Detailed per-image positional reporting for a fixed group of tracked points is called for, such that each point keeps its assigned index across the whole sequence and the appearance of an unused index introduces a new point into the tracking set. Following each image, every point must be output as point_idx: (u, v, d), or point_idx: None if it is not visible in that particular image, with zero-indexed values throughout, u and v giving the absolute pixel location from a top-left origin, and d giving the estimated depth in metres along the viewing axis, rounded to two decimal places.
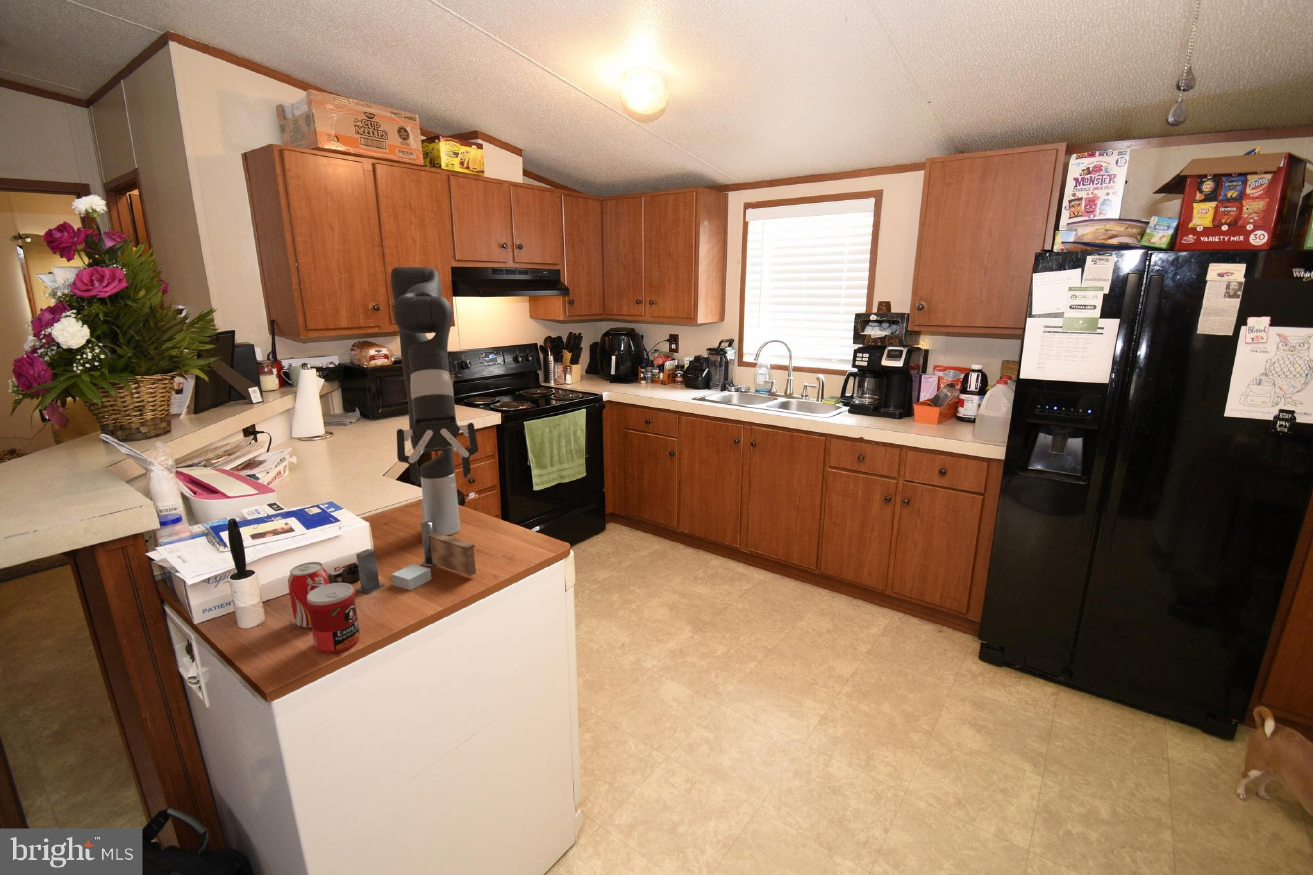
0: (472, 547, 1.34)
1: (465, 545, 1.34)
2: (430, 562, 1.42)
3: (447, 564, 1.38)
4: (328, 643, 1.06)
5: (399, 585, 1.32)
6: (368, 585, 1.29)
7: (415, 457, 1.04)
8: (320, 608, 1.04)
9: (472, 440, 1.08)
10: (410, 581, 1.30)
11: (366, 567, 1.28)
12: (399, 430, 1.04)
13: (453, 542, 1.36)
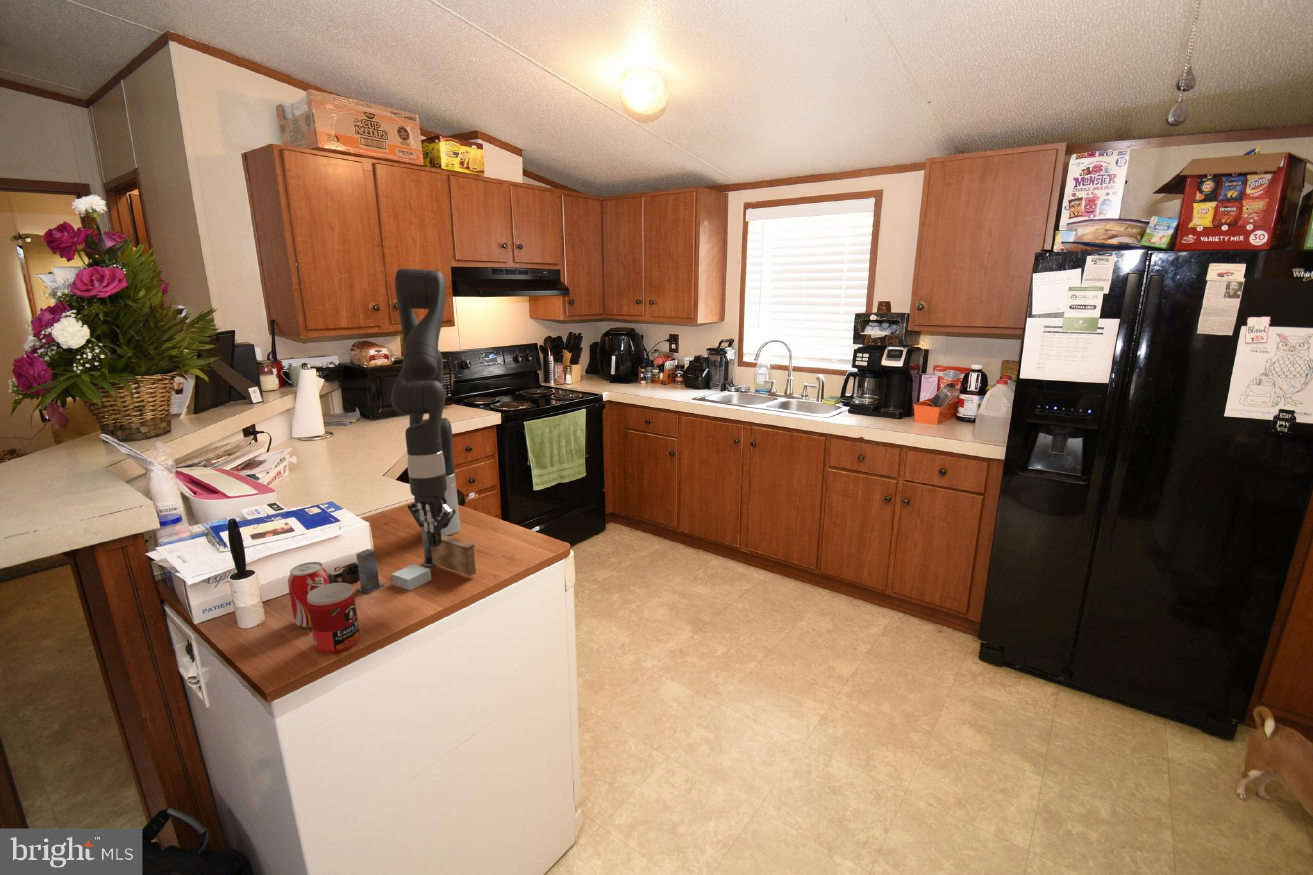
0: (472, 547, 1.34)
1: (465, 545, 1.34)
2: (430, 562, 1.42)
3: (447, 564, 1.38)
4: (328, 643, 1.06)
5: (399, 585, 1.32)
6: (368, 585, 1.29)
7: (426, 526, 1.26)
8: (320, 608, 1.04)
9: (439, 522, 1.23)
10: (409, 581, 1.30)
11: (366, 567, 1.28)
12: (408, 506, 1.27)
13: (453, 542, 1.36)
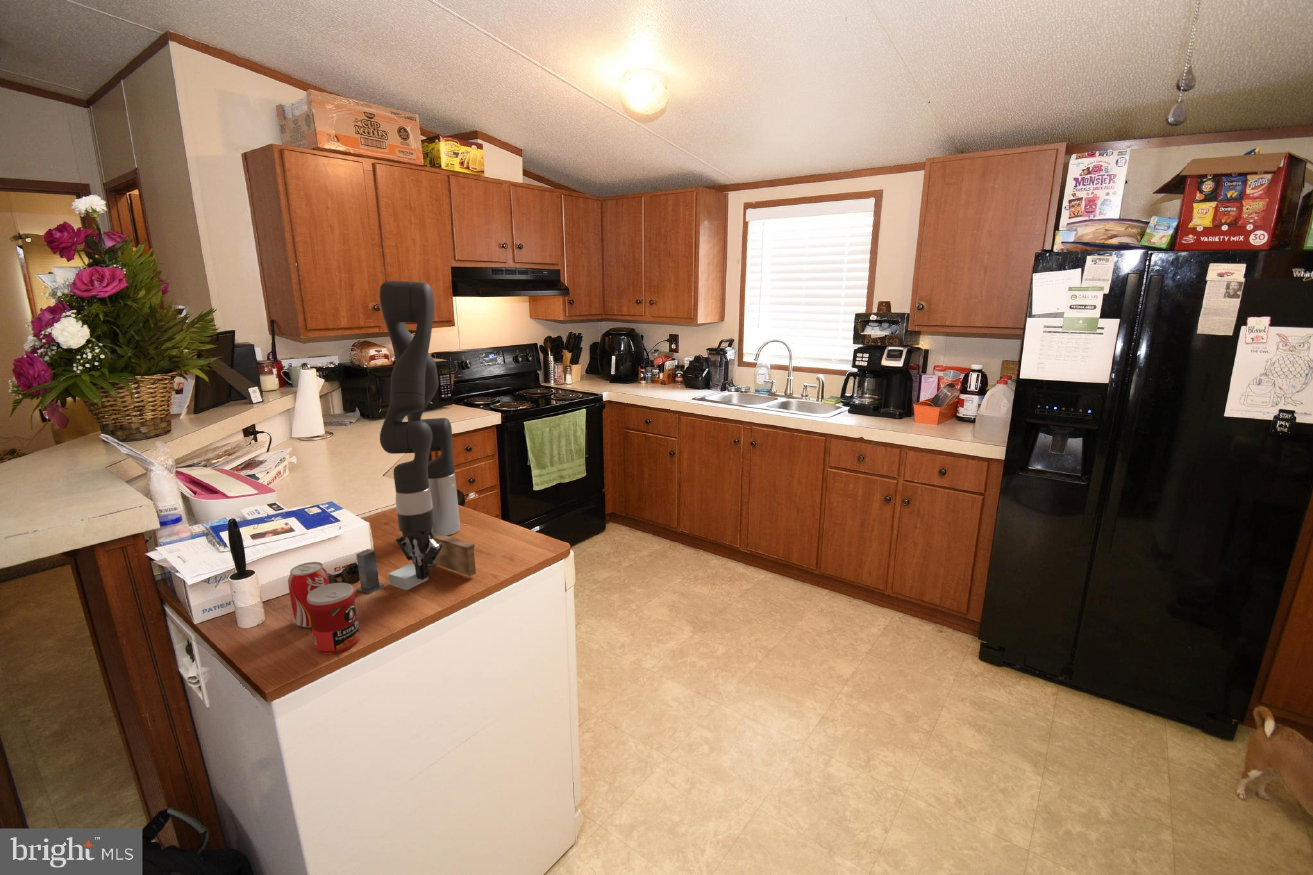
0: (472, 547, 1.34)
1: (465, 545, 1.34)
2: (430, 562, 1.42)
3: (447, 564, 1.38)
4: (328, 643, 1.06)
5: (396, 585, 1.32)
6: (368, 585, 1.29)
7: (414, 559, 1.30)
8: (320, 608, 1.04)
9: (426, 556, 1.28)
10: (406, 581, 1.30)
11: (366, 567, 1.28)
12: (396, 540, 1.32)
13: (453, 542, 1.36)
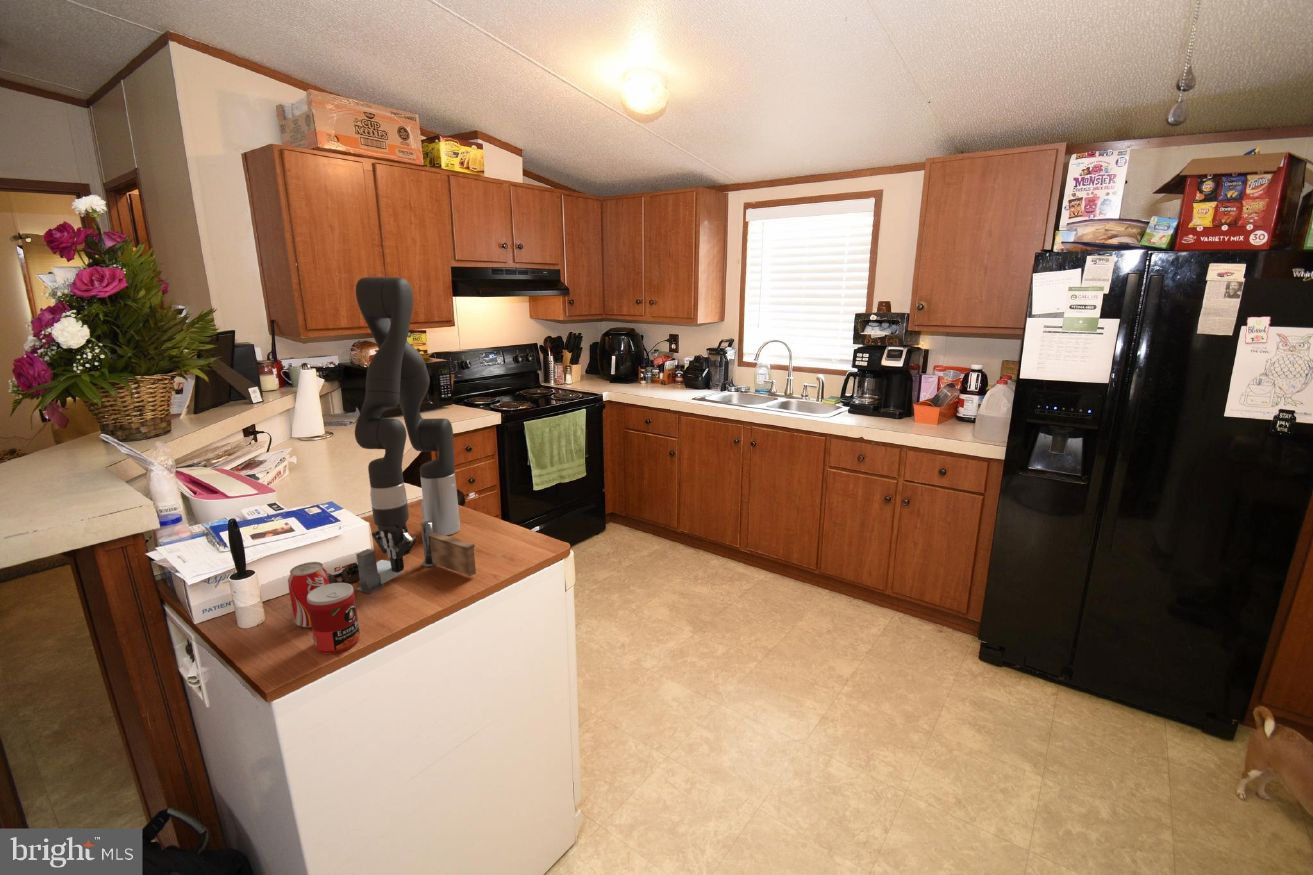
0: (472, 547, 1.34)
1: (465, 545, 1.34)
2: (430, 562, 1.42)
3: (447, 564, 1.38)
4: (328, 643, 1.06)
5: None
6: (368, 585, 1.29)
7: (389, 552, 1.34)
8: (320, 608, 1.04)
9: (401, 549, 1.32)
10: (381, 575, 1.33)
11: (366, 567, 1.28)
12: (372, 534, 1.35)
13: (453, 542, 1.36)
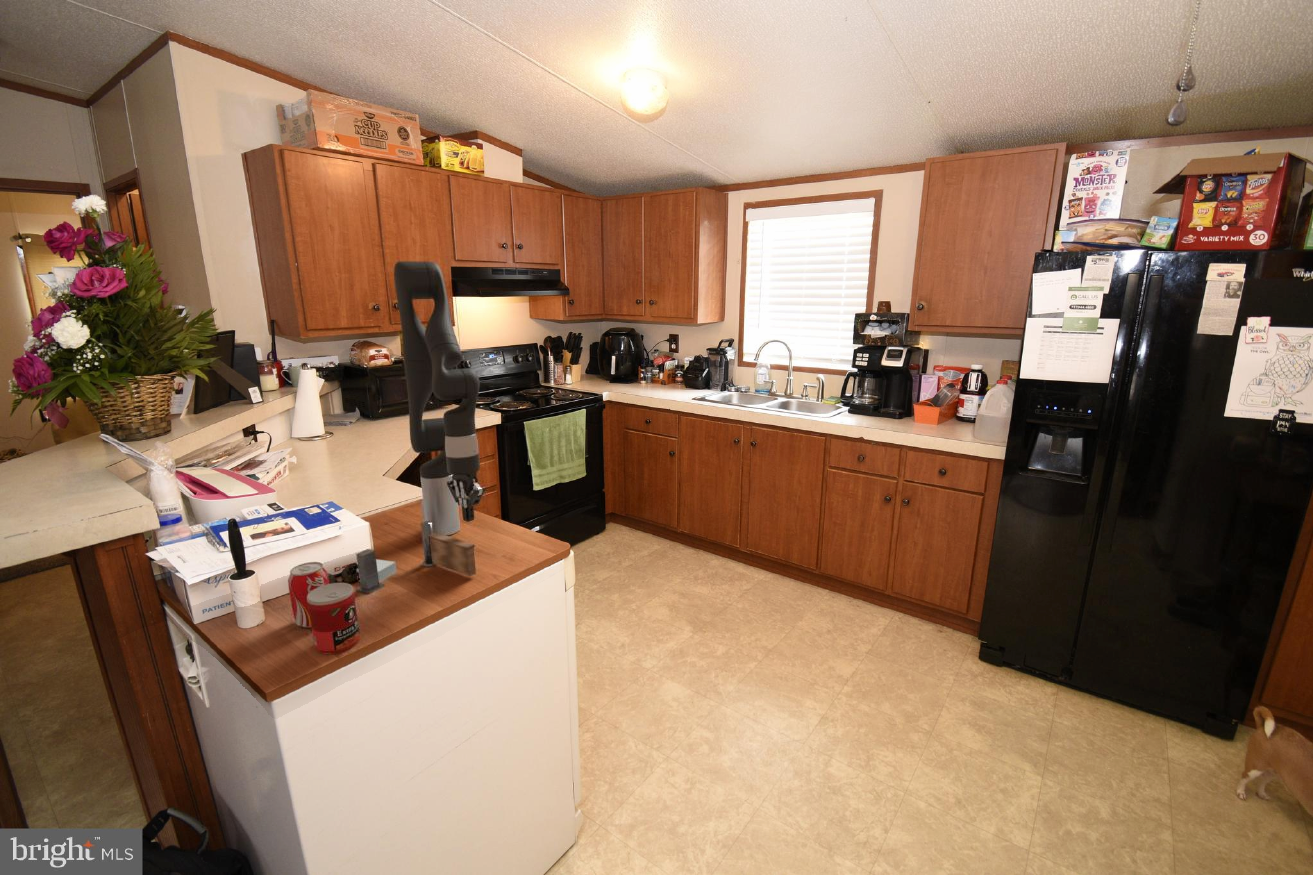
0: (472, 547, 1.34)
1: (465, 545, 1.34)
2: (430, 562, 1.42)
3: (447, 564, 1.38)
4: (329, 643, 1.06)
5: None
6: (368, 585, 1.29)
7: (461, 501, 1.38)
8: (320, 608, 1.04)
9: (470, 498, 1.35)
10: (378, 574, 1.33)
11: (366, 567, 1.28)
12: (447, 483, 1.40)
13: (453, 542, 1.36)
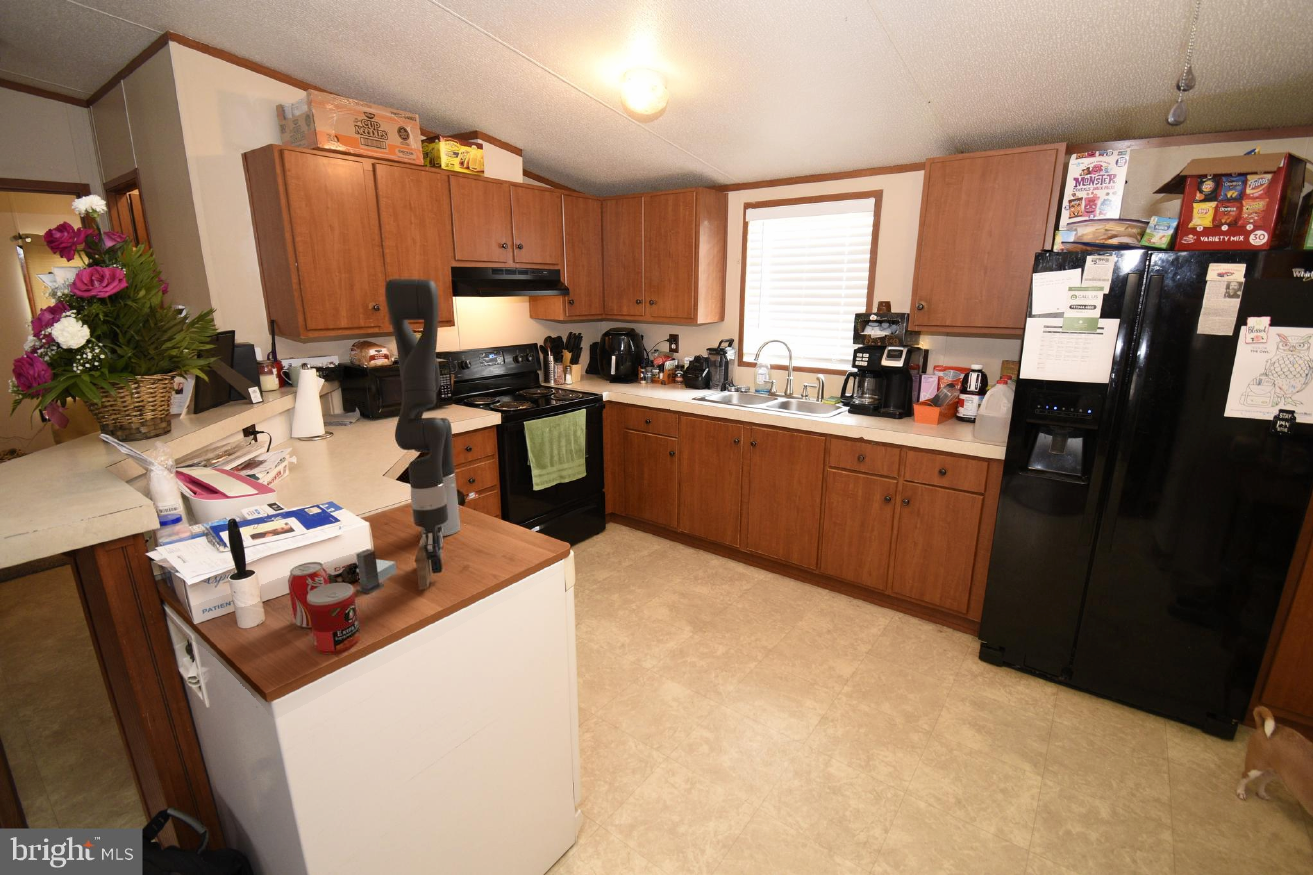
0: (422, 561, 1.27)
1: (418, 556, 1.28)
2: None
3: None
4: (328, 643, 1.06)
5: None
6: (368, 585, 1.29)
7: None
8: (320, 608, 1.04)
9: None
10: (378, 574, 1.33)
11: (366, 567, 1.28)
12: None
13: (419, 550, 1.32)
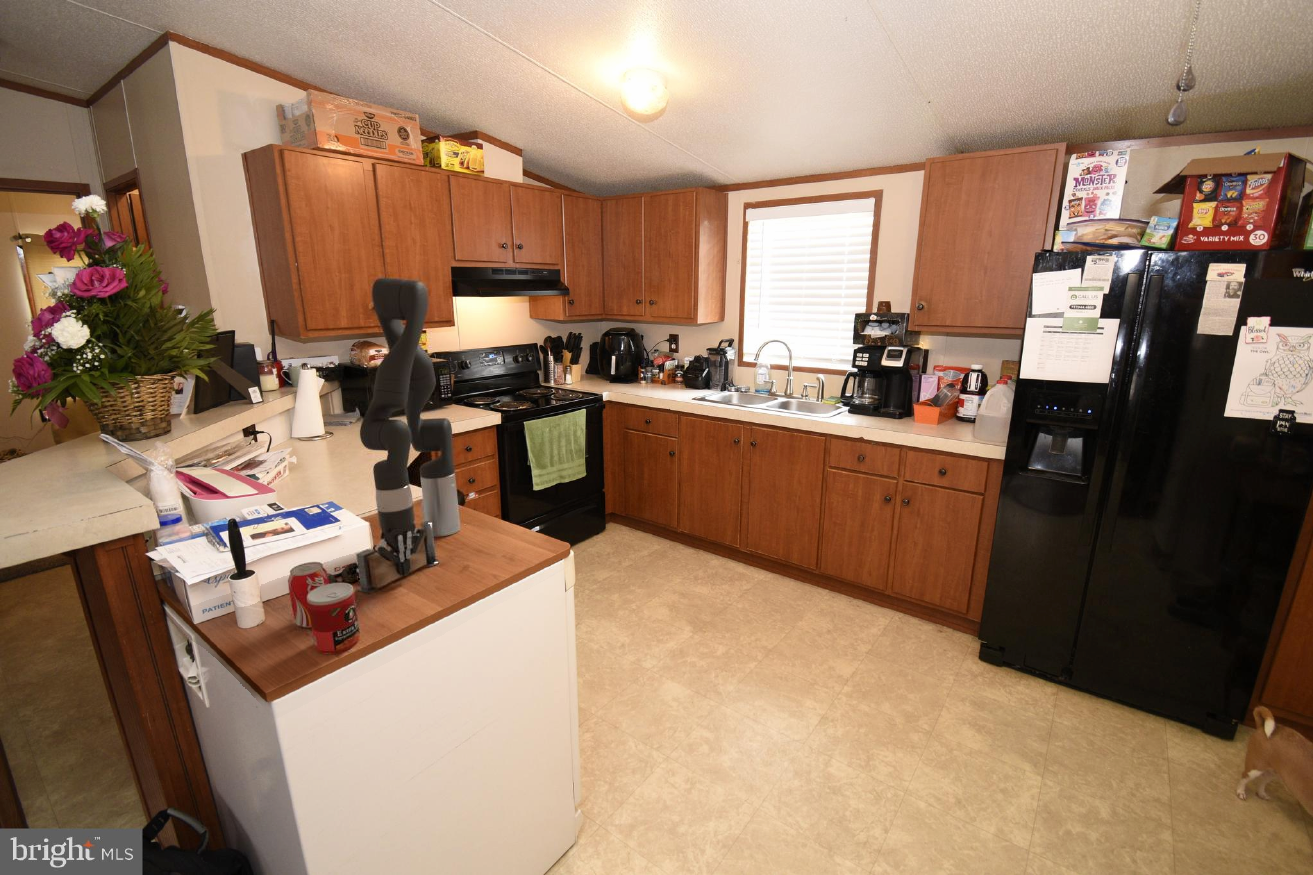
0: (371, 560, 1.28)
1: (374, 555, 1.29)
2: (430, 562, 1.42)
3: None
4: (329, 643, 1.06)
5: None
6: (368, 585, 1.29)
7: None
8: (320, 608, 1.04)
9: None
10: None
11: (366, 567, 1.28)
12: None
13: (388, 548, 1.33)
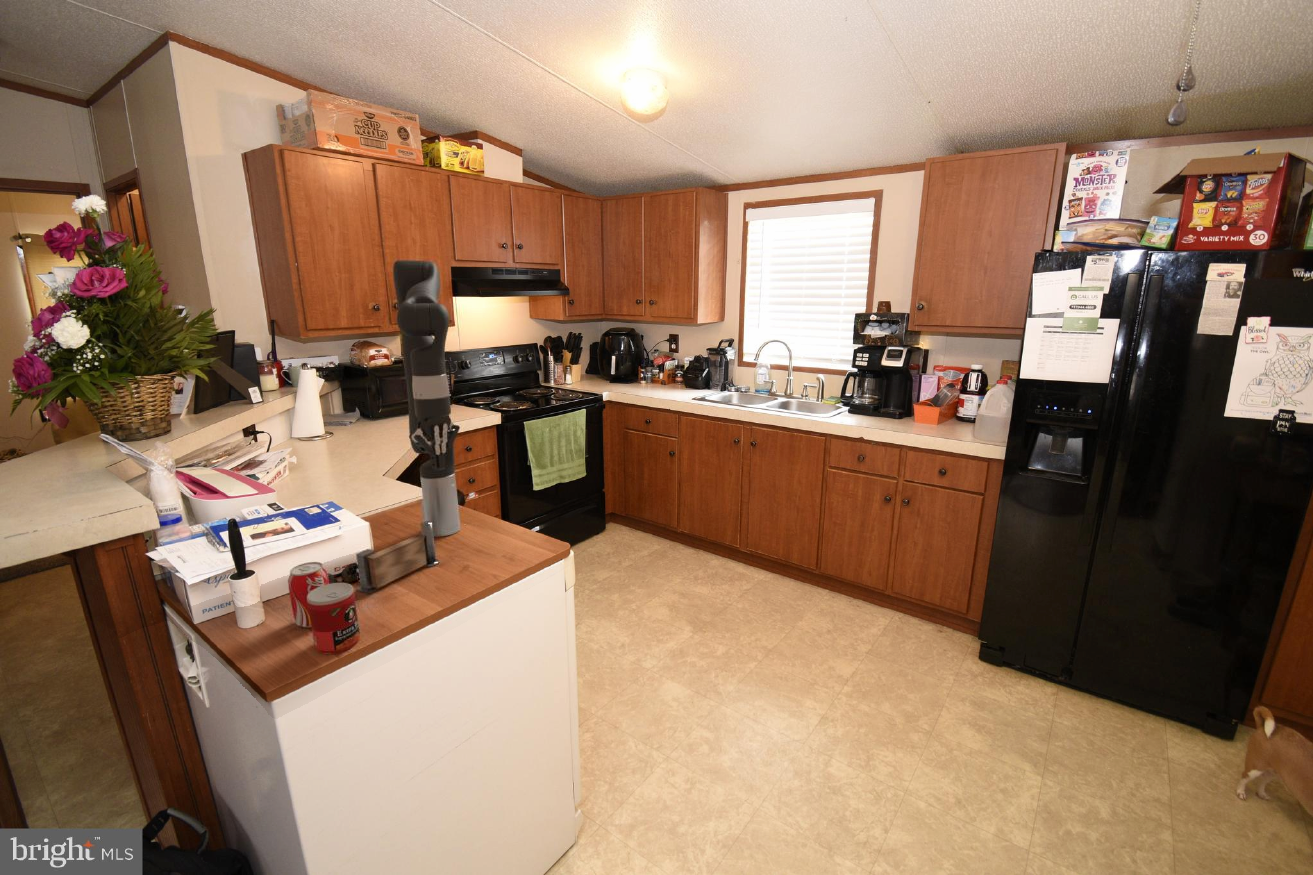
0: (371, 560, 1.28)
1: (374, 555, 1.29)
2: (430, 562, 1.42)
3: None
4: (328, 643, 1.06)
5: None
6: (368, 585, 1.29)
7: None
8: (320, 608, 1.04)
9: None
10: None
11: (366, 567, 1.28)
12: None
13: (388, 548, 1.33)
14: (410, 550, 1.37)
